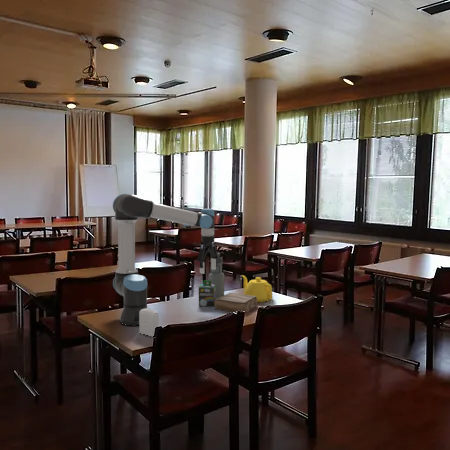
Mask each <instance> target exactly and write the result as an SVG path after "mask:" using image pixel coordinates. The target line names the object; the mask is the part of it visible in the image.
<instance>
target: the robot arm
mask: <svg viewBox="0 0 450 450" xmlns="http://www.w3.org/2000/svg"><path fill="white" fill-rule="evenodd" d="M112 210H113V212H114V220H115V221H116V223H117V227H118V229H117V231H118V232H117V233H118V234H117V237H118V238H117V239H118V240H117V244H118V245H117V246H118V247H117V248H118V250H117V253H118V256H117V257H118V258H117V259H118V267H117V269H115V273H114V275H115V277H114V278H113V280H112V286H113V288H114V290H115V292H116V293H117V294H119V295H120V296H122V297H123V309H122V311H121V316H120V318H119V319H120V320H119V323H120V322H121V323H123V324H126V325H139V312H140V310H142V309H146V308H148V279H147V278H146V276H144V275H140V274H139V271H138V269H137V268H136V266H135V265H136V247H135V246H136V235H135V234H136V222H137V221H138V220H139V219H140V218H141V219H150V218H151V219H157V220H162V221H167V222H172V223H177V224H181V225H182V226H184V227H196V228H200V229H201V242H202V243H203V244H200V245H199V252H198V257H197V261H196V262H197V263H199V274H202V275H204V274H205V259H206V257H207V254H208V253H209V254H210V257H211V258H213V259H211V258H210V260H211V261H210V263H211V264H210V266H211V269H212V270H216V259H217V258H218V254H217V252H218V251H217V247H216V242H215V210H214V209H213V208H202V209H201V211H200V212H195V211H192V210H187V209H183V208H178V207H174V206H169V205H165V204H160V203H156V202H154V201H153V200H151V199H147V198H144V197H141V196H139V195H136V194H129V193H122V194H119V195H118V196H116V197H115V198H114V200H113V202H112ZM121 323H120V324H121ZM126 325H125V326H126Z"/></svg>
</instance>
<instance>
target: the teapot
mask: <svg viewBox="0 0 450 450" xmlns="http://www.w3.org/2000/svg"><path fill="white" fill-rule="evenodd" d="M241 277H242V279H243V290H244V291H243V295H251V296H256V297H257V303H266V302H265V301H267V302H269V301H270V300H272V299H273V297H274V296H273V287H272V284H270V283H269V282H268V281H267V280H265V279H262V277H260V276H258V277H257V276H256V277H255V279H251V280H249V282H248V278H247V277H246V275H243V274H242V275H241Z"/></svg>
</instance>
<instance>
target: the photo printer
mask: <svg viewBox="0 0 450 450" xmlns="http://www.w3.org/2000/svg"><path fill="white" fill-rule="evenodd" d="M159 321H160V319H159V313H158V311H156V310H154V309H152V308H148V307H147V308H146V309H142V310H140V312H139V326H138V327H139V328H138V329H139V331H138V333H139V334H140V333H141V334H140V335H143V334H145V335H144V336H146V335H148V336H147V337H150V336H151V338H154V337H153V336H154V331H155V328H156V327H160V324H159V323H160V322H159Z"/></svg>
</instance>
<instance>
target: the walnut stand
mask: <svg viewBox="0 0 450 450" xmlns="http://www.w3.org/2000/svg"><path fill="white" fill-rule="evenodd" d="M256 306H257V307H258V302H257V297H256V296H251V295H244V293H242V294H240V293H235V292H228V293H226V294H224V296H221V297H219V298H217V299H216V300H215V305H214V310H217V311H222V312H224V311H225V312H229V313H235V312H236V311H238V310H242V311H245V312H246V313H248V312H249V310H250V309H251V310H253V309H254V307H255V308H257V307H256ZM252 308H253V309H252ZM251 310H250V311H251ZM247 311H248V312H247Z"/></svg>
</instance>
